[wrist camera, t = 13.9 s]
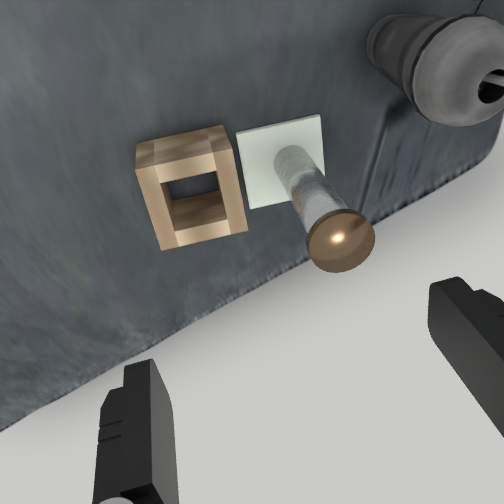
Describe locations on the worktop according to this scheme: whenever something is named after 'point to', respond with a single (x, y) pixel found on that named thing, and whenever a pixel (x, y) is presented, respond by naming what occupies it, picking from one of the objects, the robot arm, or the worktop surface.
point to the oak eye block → (195, 207)
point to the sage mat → (266, 148)
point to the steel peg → (323, 213)
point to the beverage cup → (443, 64)
